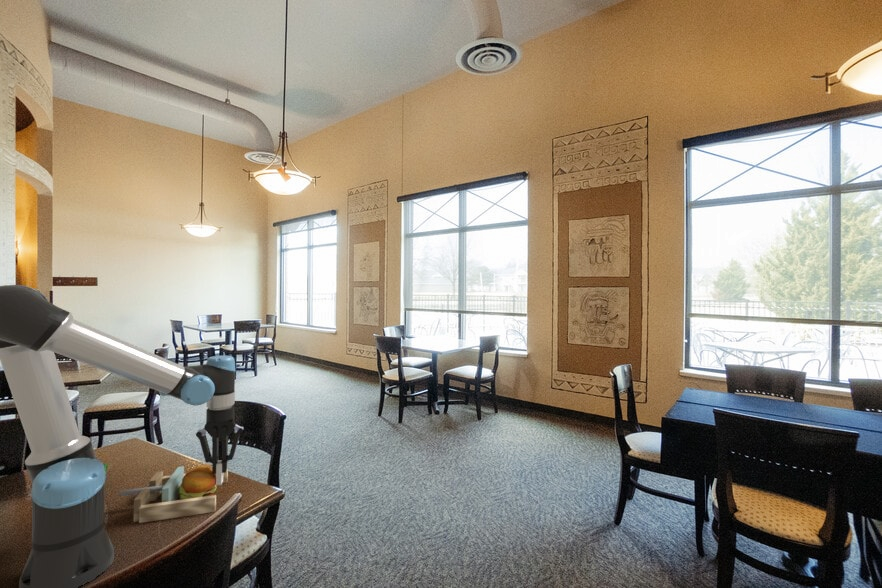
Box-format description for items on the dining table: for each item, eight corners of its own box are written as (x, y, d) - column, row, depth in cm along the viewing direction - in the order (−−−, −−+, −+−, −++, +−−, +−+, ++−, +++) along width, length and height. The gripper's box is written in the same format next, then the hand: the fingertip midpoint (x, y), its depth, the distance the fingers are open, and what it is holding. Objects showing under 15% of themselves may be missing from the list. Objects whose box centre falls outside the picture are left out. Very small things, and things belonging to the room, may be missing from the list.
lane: (227, 480, 129) (228, 462, 129) (214, 511, 111) (215, 490, 111) (157, 489, 123) (158, 470, 123) (132, 524, 104) (132, 501, 104)
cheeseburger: (208, 483, 126) (212, 456, 125) (221, 503, 120) (225, 474, 118) (172, 495, 118) (175, 466, 117) (183, 517, 112) (187, 486, 110)
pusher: (183, 488, 123) (184, 466, 123) (168, 512, 109) (168, 488, 109) (131, 495, 118) (131, 472, 118) (108, 521, 105) (108, 495, 105)
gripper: (246, 401, 125) (244, 474, 125) (199, 404, 121) (198, 480, 121) (242, 408, 118) (241, 485, 118) (192, 412, 114) (191, 492, 114)
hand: (219, 483), depth 120 cm, fingers closed
